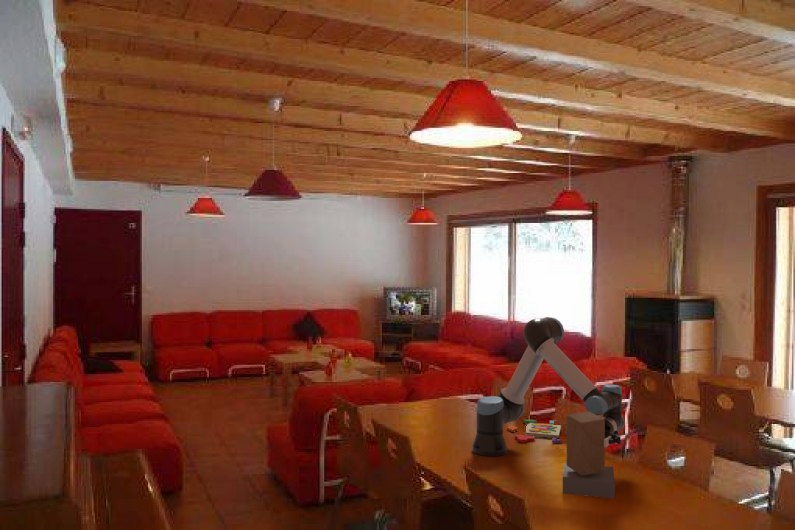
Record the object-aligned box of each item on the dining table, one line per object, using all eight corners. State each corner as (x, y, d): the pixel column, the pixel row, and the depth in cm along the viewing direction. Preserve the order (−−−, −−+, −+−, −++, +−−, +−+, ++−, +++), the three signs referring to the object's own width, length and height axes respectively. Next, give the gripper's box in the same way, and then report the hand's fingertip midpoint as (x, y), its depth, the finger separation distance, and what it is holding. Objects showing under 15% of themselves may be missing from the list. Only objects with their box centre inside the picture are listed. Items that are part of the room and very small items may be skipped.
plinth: (562, 493, 234) (562, 476, 234) (564, 477, 251) (564, 462, 251) (614, 499, 228) (614, 482, 228) (613, 482, 246) (613, 466, 246)
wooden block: (605, 471, 235) (605, 419, 233) (581, 476, 232) (581, 423, 230) (588, 461, 245) (588, 410, 242) (566, 465, 241) (565, 414, 239)
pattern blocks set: (502, 423, 336) (502, 417, 336) (567, 424, 335) (567, 418, 335) (513, 443, 298) (513, 437, 298) (586, 445, 297) (586, 438, 297)
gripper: (636, 443, 247) (620, 456, 230) (573, 432, 262) (553, 444, 244) (637, 424, 247) (620, 435, 230) (573, 414, 261) (553, 424, 244)
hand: (585, 440), depth 237 cm, fingers closed on wooden block, 13 cm apart
